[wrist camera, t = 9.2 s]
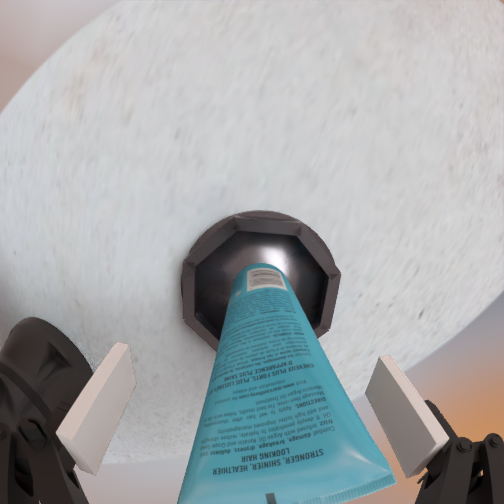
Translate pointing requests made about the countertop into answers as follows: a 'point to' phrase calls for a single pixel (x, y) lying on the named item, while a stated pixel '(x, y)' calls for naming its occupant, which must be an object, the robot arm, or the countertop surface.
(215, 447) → the tube
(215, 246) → the octagonal bowl
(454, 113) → the countertop surface
